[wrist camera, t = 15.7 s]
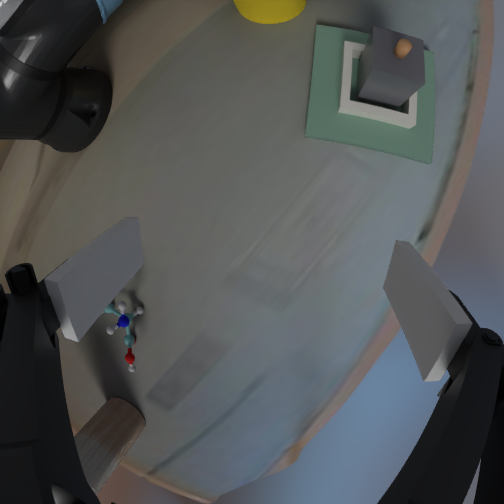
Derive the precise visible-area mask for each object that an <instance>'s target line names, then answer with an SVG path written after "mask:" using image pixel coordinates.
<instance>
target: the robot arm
mask: <svg viewBox="0 0 504 504" xmlns="http://www.w3.org/2000/svg"><path fill="white" fill-rule="evenodd" d="M122 2H123V0H0V139H19V140H38V141H40V142H42V143H45V144H47V145H50V146H51V147H52V148H53V149H55V150H57V151H60V152H78V151H81V150H83V149H84V148H86V147H87V146H88V145H90V144H91V143H92V142H93V141H94V139H95V138H96V137H97V136H98V134H99V133H100V131H101V129H102V128H103V126H104V124H105V122H106V119H107V116H108V114H109V110H110V106H111V98H112V91H111V84H110V81H109V79H108V77H107V76H106V75H105V73H103V72H102V71H100V70H98V69H95V68H93V67H88V66H82V67H78V68H73V67H70V68H65V67H66V66H67V65H68V63H69V62H70V61H71V59H72V58H73V57H74V56H75V54H76V53H77V52H78V51H79V50H80V48H81V47H82V46H83V45H84V44H85V43H86V41H87V40H88V39H89V38H90V37H91V36H92V35H93V34H94V33H95V31H96V30H97V29H98V28H99V27H100V26H101V25H102V24H105V23H106V21H107V18H108V17H109V16H110V15H111V14H112V13H113V12H114V11H115V10H116V9H117V8H118V7H119V6H120V5H121V4H122ZM143 265H144V263H143V255H142V247H141V239H140V230H139V219H138V218H136V217H125V218H124V219H122V220H121V221H120V222H118V223H117V224H115V225H114V226H112V227H111V228H110V229H108V230H107V231H105V232H104V233H103V234H101V235H100V236H98V237H97V238H96V239H94V240H93V241H92V242H90V243H89V244H88V245H86V246H85V247H84V248H82V249H81V250H80V251H78V252H77V253H76V254H75V255H73V256H72V257H71V258H69V259H67V260H66V261H65V262H64V263H62V264H61V266H59V267H57V268H56V269H55V270H54V271H52V272H51V273H50V274H49V275H48V276H46V277H45V278H44V279H43V280H42V281H40V282H39V283H38V282H37V279H36V276H35V273H34V269H33V266H32V265H31V264H30V263H23V264H19V265H16V266H14V267H12V268H11V269H9V270H8V271H7V272H6V274H5V277H6V280H7V282H8V285H9V288H10V291H11V294H5V292H4V290H3V287H2V284H0V504H100V502H99V499H98V498H97V496H96V494H95V493H94V491H93V490H92V489H91V487H90V486H89V484H88V482H87V480H86V477H85V475H84V471H83V468H82V465H81V462H80V459H79V455H78V452H77V448H76V444H75V440H74V436H73V432H72V428H71V423H70V419H69V414H68V409H67V403H66V398H65V392H64V385H63V378H62V370H61V361H60V351H59V338H58V336H57V333H56V331H57V329H58V328H59V327H60V326H61V329H62V331H63V334H64V336H65V338H68V339H71V340H74V341H77V342H79V341H80V340H81V338H82V337H83V336H84V335H85V333H86V332H87V331H88V330H89V328H90V327H91V326H92V325H93V323H94V322H95V321H96V320H97V318H98V317H99V316H100V315H101V314H102V312H103V311H104V310H105V309H106V308H107V306H108V305H109V304H110V303H111V302H112V300H113V299H114V298H115V297H116V296H117V294H118V293H119V292H120V291H121V290H122V289H123V288H124V286H125V285H126V284H127V283H128V282H129V281H130V279H131V278H132V277H133V276H134V275H135V274H136V273H137V272H138V270H139V269H140V268H141V267H142V266H143ZM383 289H384V291H385V293H386V295H387V297H388V299H389V301H390V303H391V305H392V307H393V309H394V312H395V314H396V316H397V318H398V320H399V323H400V325H401V327H402V329H403V332H404V334H405V336H406V339H407V341H408V343H409V345H410V348H411V350H412V353H413V355H414V358H415V360H416V363H417V365H418V368H419V370H420V373H421V376H422V378H423V381H424V382H428V381H437V380H440V379H441V377H442V376H443V374H444V373H445V371H446V370H448V372H449V374H450V377H449V379H448V380H447V382H446V383H445V385H444V386H443V388H442V389H441V390H440V392H439V393H438V395H437V396H440V398H439V400H438V402H437V404H436V407H435V409H434V411H433V413H432V415H431V417H430V419H429V421H428V423H427V425H426V427H425V429H424V431H423V433H422V435H421V437H420V438H419V440H418V442H417V444H416V446H415V447H414V449H413V451H412V453H411V454H410V456H409V458H408V459H407V461H406V463H405V464H404V466H403V467H402V469H401V470H400V472H399V474H398V475H397V477H396V478H395V480H394V481H393V483H392V484H391V485H390V487H389V488H388V490H387V491H386V492H385V494H384V495H383V497H382V498H381V499H380V500H379V502H378V503H377V504H462V503H463V501H464V499H465V497H466V495H467V492H468V490H469V488H470V485H471V483H472V480H473V478H474V475H475V473H476V470H477V467H478V465H479V462H480V459H481V463H480V472H479V477H478V483H477V489H476V494H475V499H474V504H504V345H503V341H502V339H501V338H500V336H498V334H497V333H495V332H494V331H492V330H490V329H487V328H480V327H479V325H478V324H477V322H476V321H475V319H474V318H473V317H472V315H471V314H470V313H469V311H467V308H466V307H465V306H464V305H463V303H462V302H461V300H460V299H459V297H458V296H456V295H455V294H454V293H453V292H451V291H450V290H448V289H447V287H446V286H445V285H444V284H443V282H442V281H441V280H440V278H439V277H438V276H437V275H436V274H435V272H434V271H433V270H432V269H431V267H430V266H429V265H428V264H427V262H426V261H425V260H424V259H423V258H422V256H421V255H420V254H419V253H418V252H417V251H416V249H415V248H414V247H413V246H412V245H411V244H410V243H409V242H406V241H397V240H396V242H395V246H394V250H393V254H392V258H391V262H390V265H389V269H388V273H387V276H386V279H385V283H384V286H383ZM111 504H115V503H113V502H112V503H111Z"/></svg>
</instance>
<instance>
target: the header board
mask: <svg viewBox="0 0 504 504" xmlns="http://www.w3.org/2000/svg"><path fill="white" fill-rule="evenodd" d="M369 35H370V34H368V33H364V32H359V31H354V30H348V29H343V28H337V27H330V26H323V25H316V37H315V48H314V59H313V70H312V79H311V89H310V98H309V107H308V116H307V124H306V132H305V137H307V138H314V139H320V140H326V141H332V142H337V143H343V144H348V145H353V146H358V147H363V148H367V149H372V150H376V151H381V152H385V153H389V154H393V155H397V156H401V157H405V158H408V159H412V160H416V161H419V162H423V163H426V164H429V163H432V153H433V140H434V122H435V72H434V55H433V52H430V51H427V50H424V60H425V85H424V86H422V87H421V88H420V89H419V90H418V91H417V92H415V93H414V94H413V95H412V96H411V97H410V98H408V99H407V100H406V101H405V102H404V103H403V104H401V105H400V106H399V107H398V108H397V109H392V108H388V107H384V106H380V105H376V104H372V103H368V102H363V101H358V100H356V94H357V79H358V64H359V61H360V59H361V56H362V53H363V51H364V48H365V45H366V43H367V40H368V37H369Z"/></svg>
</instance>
